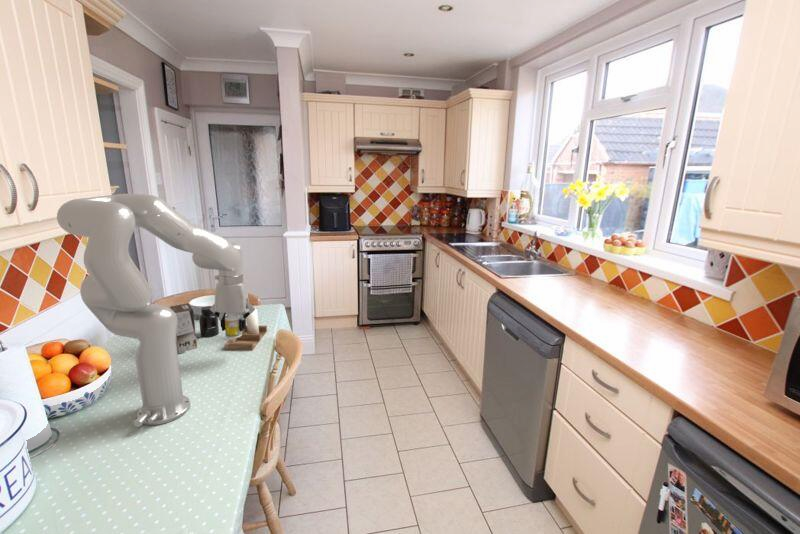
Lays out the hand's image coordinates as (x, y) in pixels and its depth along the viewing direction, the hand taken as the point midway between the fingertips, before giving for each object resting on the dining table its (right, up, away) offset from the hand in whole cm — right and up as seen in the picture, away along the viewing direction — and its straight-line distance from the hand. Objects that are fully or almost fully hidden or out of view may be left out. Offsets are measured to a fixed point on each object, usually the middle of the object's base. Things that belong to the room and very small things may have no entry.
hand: (233, 329), depth 130 cm
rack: (-3, -8, +18) cm, 20 cm away
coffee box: (-23, -9, +12) cm, 28 cm away
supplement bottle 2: (0, -3, +1) cm, 3 cm away
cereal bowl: (-31, -1, +45) cm, 54 cm away
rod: (-2, -6, +22) cm, 23 cm away
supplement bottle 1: (-20, -7, +23) cm, 31 cm away
